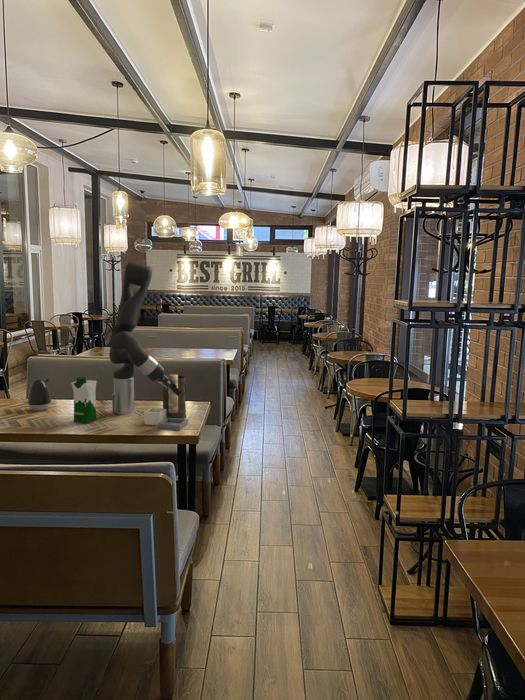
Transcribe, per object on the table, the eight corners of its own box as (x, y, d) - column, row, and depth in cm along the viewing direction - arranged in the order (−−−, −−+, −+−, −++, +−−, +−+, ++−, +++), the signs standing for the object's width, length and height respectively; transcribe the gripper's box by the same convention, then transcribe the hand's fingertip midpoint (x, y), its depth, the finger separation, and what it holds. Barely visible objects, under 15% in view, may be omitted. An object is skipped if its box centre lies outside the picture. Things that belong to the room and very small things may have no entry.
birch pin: (167, 412, 206) (166, 375, 204) (170, 410, 210) (170, 374, 208) (176, 413, 205) (175, 376, 203) (179, 410, 209) (179, 374, 207)
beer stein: (180, 422, 216) (181, 378, 214) (158, 420, 218) (159, 376, 216) (192, 415, 231) (193, 374, 229) (171, 414, 233) (172, 373, 231)
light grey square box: (144, 425, 211) (144, 411, 210) (151, 420, 218) (151, 407, 217) (159, 426, 209) (159, 413, 209) (166, 421, 216) (166, 408, 216)
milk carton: (70, 422, 213) (69, 378, 210) (84, 417, 221) (83, 374, 218) (87, 424, 210) (85, 379, 207) (100, 419, 218) (99, 376, 216)
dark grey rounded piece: (56, 409, 234) (55, 378, 232) (36, 413, 225) (35, 381, 223) (43, 406, 239) (42, 375, 237) (23, 410, 231) (22, 379, 228)
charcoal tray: (157, 429, 205) (157, 423, 205) (166, 423, 215) (166, 417, 214) (179, 431, 203) (179, 425, 203) (188, 424, 213) (188, 419, 212)
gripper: (162, 363, 195) (190, 389, 203) (150, 358, 207) (176, 383, 215) (150, 377, 193) (178, 403, 201) (138, 371, 204) (165, 396, 213)
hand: (177, 393), depth 208 cm, fingers closed on birch pin, 4 cm apart
